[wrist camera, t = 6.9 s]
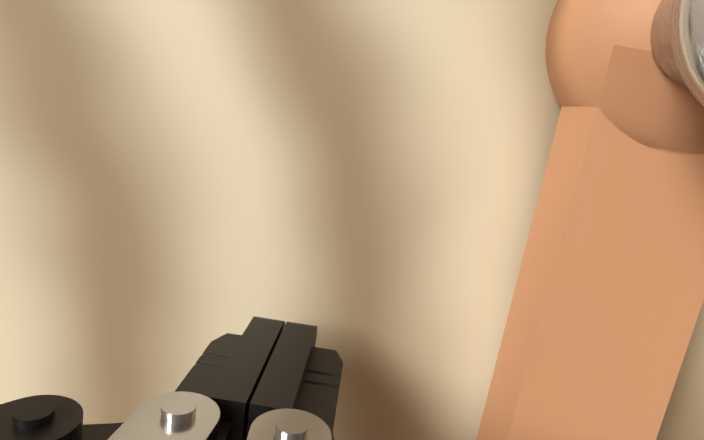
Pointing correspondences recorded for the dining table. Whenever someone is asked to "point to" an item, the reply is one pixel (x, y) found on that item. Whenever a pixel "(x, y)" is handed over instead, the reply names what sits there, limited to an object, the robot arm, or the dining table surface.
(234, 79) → the board
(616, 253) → the link
